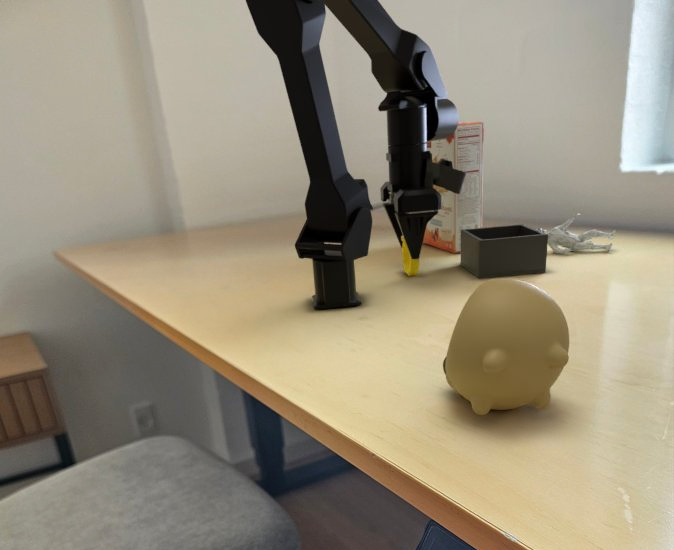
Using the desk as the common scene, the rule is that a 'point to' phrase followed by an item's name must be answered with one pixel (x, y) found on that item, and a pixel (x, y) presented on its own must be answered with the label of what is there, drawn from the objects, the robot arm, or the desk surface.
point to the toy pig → (507, 346)
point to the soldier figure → (574, 238)
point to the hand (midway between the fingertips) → (410, 253)
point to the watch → (409, 260)
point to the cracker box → (468, 204)
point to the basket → (503, 251)
